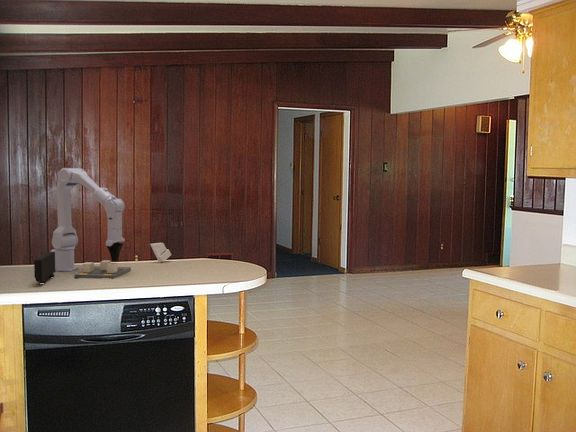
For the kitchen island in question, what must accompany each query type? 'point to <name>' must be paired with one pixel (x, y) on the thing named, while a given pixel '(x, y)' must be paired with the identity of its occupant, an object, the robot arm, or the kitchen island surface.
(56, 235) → the robot arm
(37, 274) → the digital display
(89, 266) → the beige block
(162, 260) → the white angled block
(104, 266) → the tab
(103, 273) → the switch bank
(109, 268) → the cream squarish block
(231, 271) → the kitchen island surface
